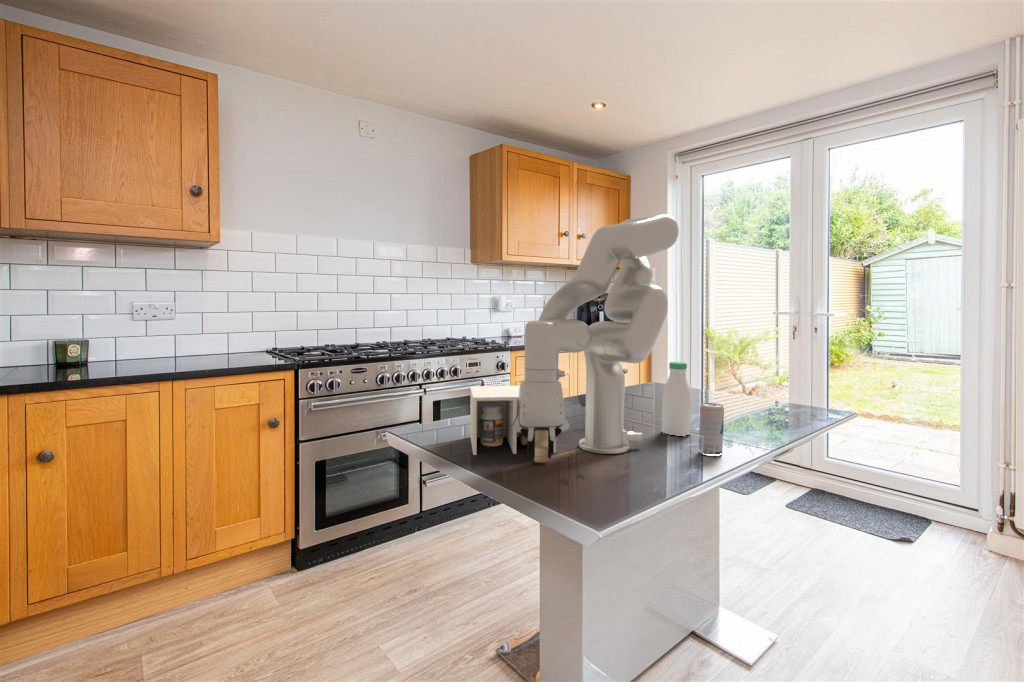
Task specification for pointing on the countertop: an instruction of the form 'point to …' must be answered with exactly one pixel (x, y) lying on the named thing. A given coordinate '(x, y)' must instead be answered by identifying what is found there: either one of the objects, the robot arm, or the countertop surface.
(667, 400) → the milk bottle
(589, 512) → the countertop surface
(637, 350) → the robot arm
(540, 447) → the wooden block tool
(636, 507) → the countertop surface
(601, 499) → the countertop surface
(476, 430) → the cubby shelf
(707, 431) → the energy drink
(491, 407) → the pill bottle
